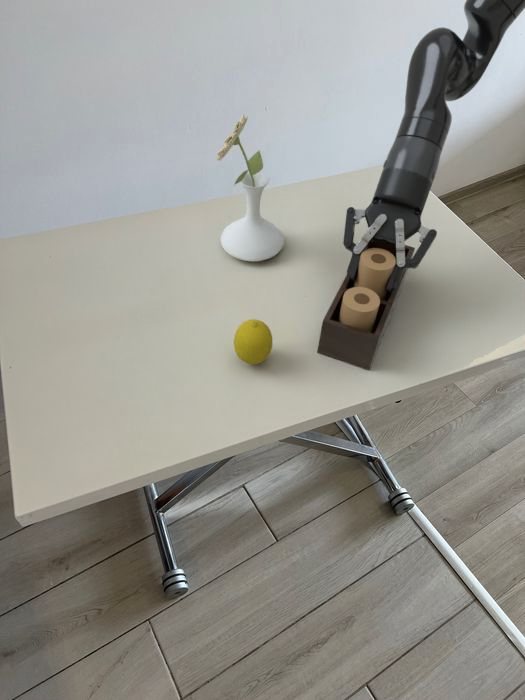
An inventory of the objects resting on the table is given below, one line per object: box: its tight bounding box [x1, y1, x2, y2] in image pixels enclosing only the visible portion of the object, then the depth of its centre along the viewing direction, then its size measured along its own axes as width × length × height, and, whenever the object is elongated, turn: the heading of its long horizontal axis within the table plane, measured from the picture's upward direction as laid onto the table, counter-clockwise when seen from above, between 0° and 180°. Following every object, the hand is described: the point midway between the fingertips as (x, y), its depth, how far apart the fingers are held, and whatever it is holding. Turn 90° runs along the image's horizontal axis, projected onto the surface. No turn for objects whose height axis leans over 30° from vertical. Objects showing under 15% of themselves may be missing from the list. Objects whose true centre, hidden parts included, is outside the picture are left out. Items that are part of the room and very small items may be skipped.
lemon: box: [233, 318, 273, 365], centre depth 76 cm, size 6×6×8 cm
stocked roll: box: [338, 287, 380, 333], centre depth 78 cm, size 5×5×9 cm
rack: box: [316, 240, 416, 371], centre depth 84 cm, size 23×8×7 cm, turn 156°
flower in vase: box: [216, 113, 285, 262], centre depth 87 cm, size 13×11×25 cm
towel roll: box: [354, 248, 396, 300], centre depth 81 cm, size 5×5×9 cm
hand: (369, 285), depth 80 cm, fingers closed on towel roll, 5 cm apart
